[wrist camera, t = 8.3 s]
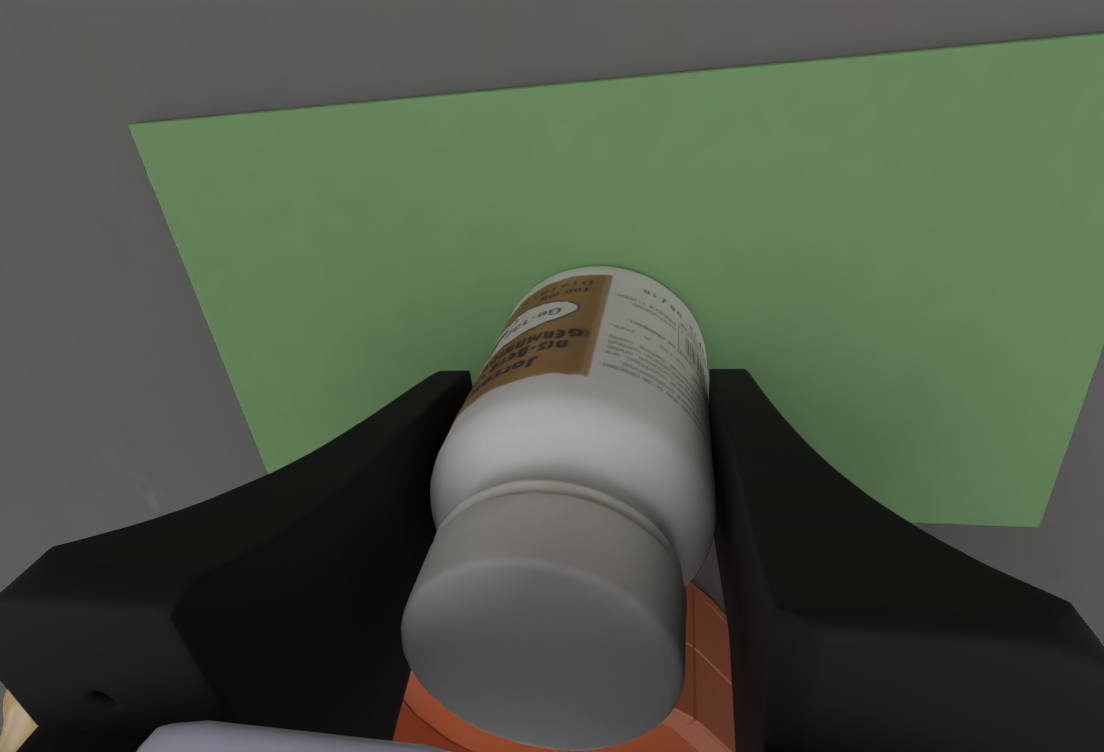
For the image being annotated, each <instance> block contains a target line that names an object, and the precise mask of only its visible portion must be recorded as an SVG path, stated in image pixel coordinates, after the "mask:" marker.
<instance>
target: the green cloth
mask: <svg viewBox="0 0 1104 752" xmlns="http://www.w3.org/2000/svg"><path fill="white" fill-rule="evenodd" d="M128 127H129V129H130V132H131V134H132V137H133V139H134V142H135V144H136V147H137V149H138V152H139V154H140V157H141V159H142V162H143V164H144V167H145V169H146V172H147V174H148V177H149V179H150V182H151V184H152V187H153V189H154V192H155V194H156V197H157V199H158V202H159V204H160V207H161V209H162V212H163V214H164V217H165V219H166V222H167V224H168V226H169V229H170V231H171V234H172V236H173V239H174V241H175V244H176V246H177V249H178V251H179V254H180V256H181V259H182V261H183V264H184V266H185V269H186V271H187V274H188V276H189V279H190V281H191V284H192V286H193V289H194V291H195V294H196V296H197V299H198V301H199V304H200V306H201V309H202V311H203V314H204V316H205V319H206V321H207V324H208V326H209V329H210V331H211V334H212V336H213V339H214V341H215V344H216V346H217V349H218V351H219V354H220V356H221V359H222V361H223V364H224V366H225V369H226V371H227V374H228V376H229V379H230V381H231V384H232V386H233V389H234V391H235V394H236V396H237V399H238V401H239V404H240V406H241V409H242V411H243V414H244V416H245V419H246V421H247V424H248V426H249V428H250V431H251V433H252V436H253V438H254V441H255V443H256V446H257V448H258V451H259V453H260V456H261V458H262V461H263V463H264V466H265V468H266V471H267V473H268V474H270V473H272V472H274V471H276V470H278V469H280V468H282V467H284V466H286V465H288V464H290V463H292V462H294V461H296V460H298V459H300V458H302V457H303V456H305V455H307V454H309V453H311V452H313V451H314V450H316V449H318V448H320V447H321V446H323V445H325V444H326V443H328V442H330V441H331V440H333V439H334V438H336V437H338V436H339V435H341V434H343V433H344V432H346V431H347V430H349V429H351V428H352V427H354V426H355V425H357V424H359V423H360V422H362V421H363V420H365V419H367V418H368V417H370V416H371V415H372V414H374V413H375V412H377V411H378V410H380V409H381V408H383V407H384V406H386V405H387V404H389V403H390V402H392V401H393V400H395V399H396V398H398V397H399V396H400V395H402V394H403V393H405V392H406V391H408V390H409V389H411V388H412V387H414V386H415V385H417V384H418V383H420V382H421V381H423V380H424V379H426V378H427V377H429V376H431V375H433V374H434V373H436V372H438V371H468V370H470V375H471V380H472V385H473V386H474V384H475V382H476V380H477V378H478V376H479V374H480V373H481V371H482V369H483V367H484V366H485V364H486V362H487V359H488V357H489V355H490V354H491V352H492V350H493V348H494V346H495V344H496V342H497V340H498V339H499V337H500V335H501V332H502V331H503V329H504V328H505V326H506V324H507V322H508V320H509V318H510V316H511V314H512V313H513V311H514V309H515V308H516V306H517V305H518V304H519V303H520V301H521V300H522V299H523V298H524V297H525V296H526V295H527V294H528V293H529V292H530V291H531V290H532V289H533V288H534V287H536V286H537V285H538V284H540V283H541V282H543V281H544V280H546V279H547V278H549V277H552V276H554V275H556V274H558V273H561V272H563V271H567V270H571V269H575V268H580V267H589V266H609V267H616V268H621V269H626V270H631V271H634V272H637V273H640V274H642V275H645V276H647V277H649V278H651V279H653V280H655V281H657V282H658V283H660V284H662V285H663V286H664V287H666V288H667V289H668V290H670V291H671V292H672V293H673V294H674V295H676V296H677V297H678V298H679V299H680V300H681V301H682V302H683V303H684V304H685V305H686V306H687V308H688V309H689V310H690V312H691V313H692V314H693V316H694V318H695V320H696V322H697V324H698V326H699V329H700V332H701V335H702V338H703V341H704V344H705V350H706V357H707V369H708V378H709V369H746V370H747V371H748V372H749V373H750V374H751V375H752V377H753V378H754V380H755V381H756V382H757V384H758V385H759V387H760V388H761V389H762V391H763V392H764V393H765V395H766V396H767V397H768V399H769V400H770V401H771V402H772V404H773V405H774V406H775V407H776V409H777V410H778V411H779V412H780V413H781V415H782V416H783V417H784V418H785V419H786V420H787V421H788V422H789V423H790V425H791V426H792V427H793V428H794V429H795V430H796V431H797V432H798V434H799V435H800V436H801V437H802V438H803V439H804V440H805V441H806V442H807V443H808V444H809V445H810V446H811V447H812V448H813V449H814V450H815V451H816V452H817V453H818V454H819V455H820V456H821V457H822V458H824V459H825V460H826V461H827V462H828V463H829V464H830V465H831V466H832V467H833V468H835V469H836V470H837V471H838V472H839V473H841V474H842V475H843V476H845V477H846V478H847V479H848V480H850V481H851V482H852V483H853V484H855V485H856V486H857V487H859V488H860V489H861V490H862V491H864V492H865V493H866V494H868V495H869V496H871V497H872V498H873V499H875V500H876V501H878V502H879V503H881V504H882V505H883V506H885V507H887V508H888V509H890V510H891V511H893V512H894V513H896V514H897V515H899V516H900V517H902V518H904V519H905V520H907V521H908V522H910V523H930V524H957V525H984V526H1011V527H1039V526H1040V523H1041V521H1042V518H1043V515H1044V512H1045V509H1046V506H1047V504H1048V501H1049V498H1050V495H1051V492H1052V490H1053V487H1054V484H1055V481H1056V478H1057V476H1058V473H1059V470H1060V467H1061V464H1062V461H1063V459H1064V456H1065V453H1066V450H1067V447H1068V445H1069V442H1070V439H1071V436H1072V433H1073V430H1074V428H1075V425H1076V422H1077V419H1078V416H1079V414H1080V411H1081V408H1082V405H1083V402H1084V400H1085V397H1086V394H1087V391H1088V388H1089V385H1090V383H1091V380H1092V377H1093V374H1094V371H1095V369H1096V366H1097V363H1098V360H1099V357H1100V355H1101V352H1102V349H1103V346H1104V32H1096V33H1085V34H1074V35H1064V36H1053V37H1042V38H1032V39H1021V40H1010V41H1000V42H989V43H978V44H968V45H957V46H946V47H936V48H925V49H914V50H904V51H893V52H883V53H872V54H861V55H851V56H840V57H829V58H819V59H808V60H797V61H787V62H776V63H765V64H755V65H744V66H733V67H723V68H712V69H701V70H691V71H680V72H669V73H659V74H648V75H637V76H627V77H616V78H605V79H595V80H584V81H573V82H563V83H552V84H541V85H531V86H520V87H509V88H499V89H488V90H477V91H467V92H456V93H445V94H435V95H424V96H413V97H403V98H392V99H381V100H371V101H360V102H349V103H339V104H328V105H317V106H307V107H296V108H285V109H275V110H264V111H253V112H243V113H232V114H221V115H211V116H200V117H189V118H179V119H168V120H158V121H147V122H137V123H133V124H129V125H128ZM708 390H709V383H708Z"/></svg>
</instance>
